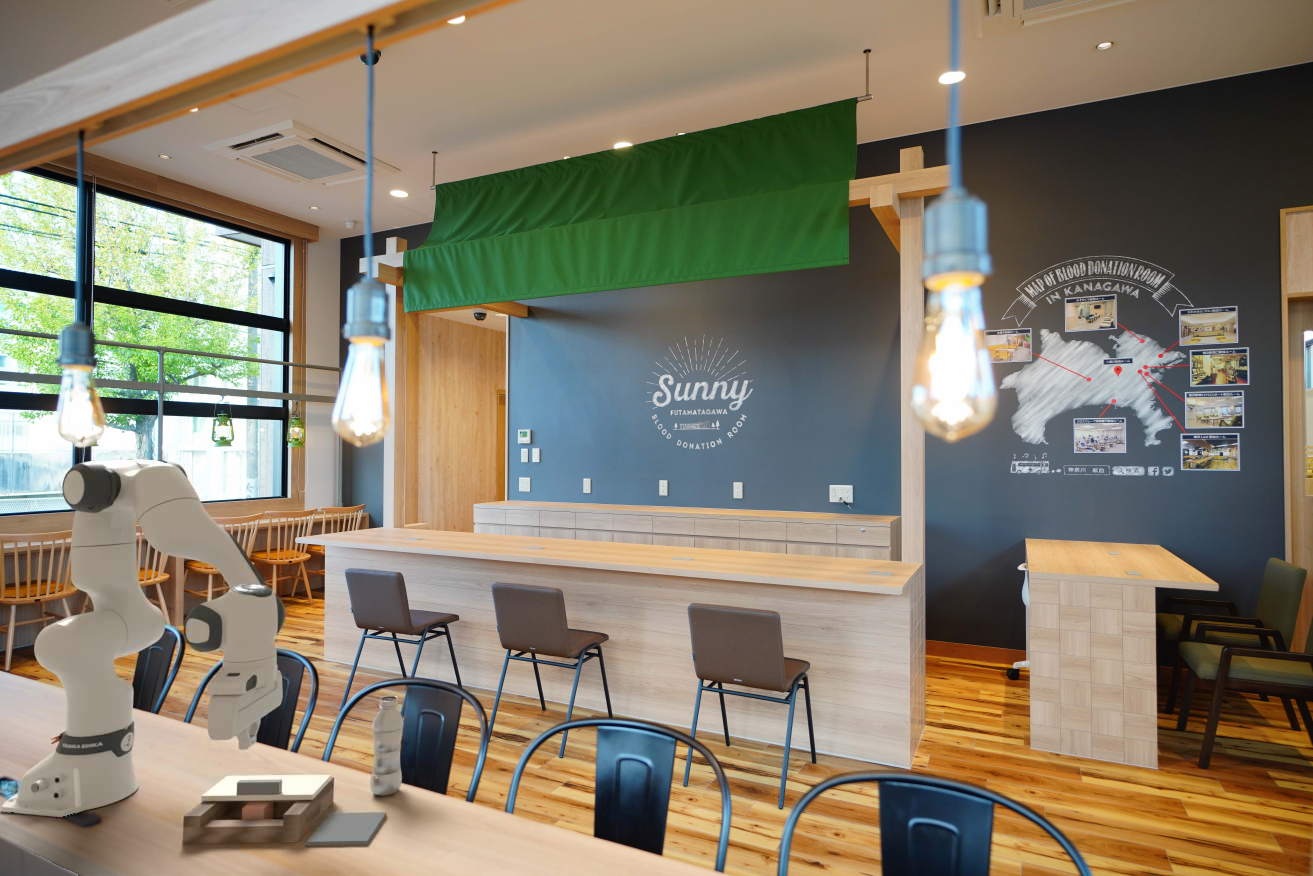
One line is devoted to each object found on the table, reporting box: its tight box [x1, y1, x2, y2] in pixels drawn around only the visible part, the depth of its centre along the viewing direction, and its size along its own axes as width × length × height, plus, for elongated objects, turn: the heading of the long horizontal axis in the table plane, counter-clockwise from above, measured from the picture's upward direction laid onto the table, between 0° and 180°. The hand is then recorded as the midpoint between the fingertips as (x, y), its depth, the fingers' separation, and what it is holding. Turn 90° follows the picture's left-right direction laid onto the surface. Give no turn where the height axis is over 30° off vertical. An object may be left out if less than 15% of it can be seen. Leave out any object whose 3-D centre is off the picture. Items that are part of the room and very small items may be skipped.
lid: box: [200, 774, 332, 802], centre depth 141 cm, size 21×9×3 cm, turn 93°
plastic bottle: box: [369, 695, 404, 797], centre depth 152 cm, size 6×7×20 cm
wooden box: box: [182, 777, 335, 845], centre depth 139 cm, size 21×16×5 cm
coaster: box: [306, 811, 388, 847], centre depth 136 cm, size 11×11×1 cm
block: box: [241, 800, 274, 820], centre depth 137 cm, size 4×4×4 cm
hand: (247, 746), depth 132 cm, fingers closed
